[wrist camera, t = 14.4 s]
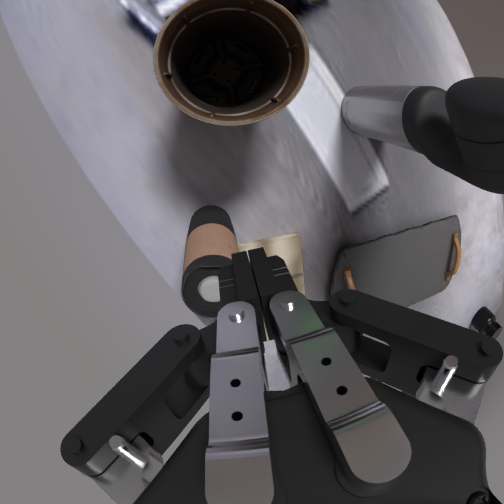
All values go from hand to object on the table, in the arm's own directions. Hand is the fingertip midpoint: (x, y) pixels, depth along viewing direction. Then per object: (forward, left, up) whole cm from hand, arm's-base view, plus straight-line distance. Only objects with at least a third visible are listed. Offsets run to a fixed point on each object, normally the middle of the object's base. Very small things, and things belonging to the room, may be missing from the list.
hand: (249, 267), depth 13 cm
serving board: (-36, +32, -36) cm, 60 cm away
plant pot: (-3, -13, -35) cm, 38 cm away
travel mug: (+4, +12, -35) cm, 37 cm away
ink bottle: (-83, +67, -35) cm, 112 cm away
